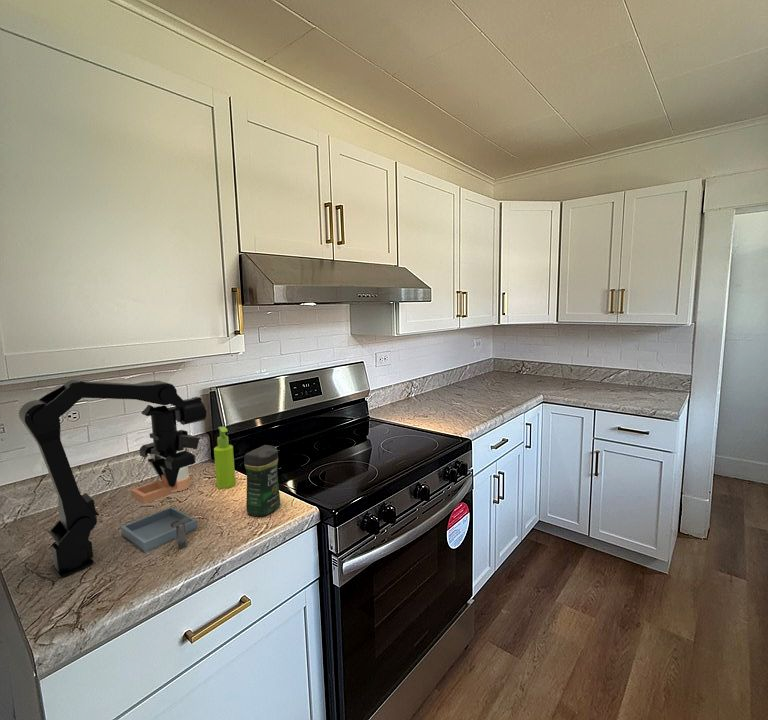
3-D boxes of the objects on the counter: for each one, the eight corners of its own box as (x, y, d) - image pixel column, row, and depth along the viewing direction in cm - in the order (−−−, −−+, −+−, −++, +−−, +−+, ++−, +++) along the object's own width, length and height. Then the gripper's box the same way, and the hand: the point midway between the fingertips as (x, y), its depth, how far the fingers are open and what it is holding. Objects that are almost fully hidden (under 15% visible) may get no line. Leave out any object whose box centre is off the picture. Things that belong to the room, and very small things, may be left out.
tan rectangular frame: (143, 504, 105) (142, 488, 104) (131, 496, 109) (129, 482, 108) (181, 490, 112) (180, 476, 111) (168, 484, 116) (167, 470, 116)
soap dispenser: (219, 491, 136) (214, 431, 133) (215, 484, 141) (210, 426, 139) (238, 487, 139) (234, 428, 136) (233, 480, 144) (229, 423, 142)
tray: (145, 552, 102) (144, 543, 102) (121, 535, 110) (120, 526, 110) (197, 528, 113) (196, 520, 113) (172, 514, 121) (171, 506, 121)
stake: (176, 551, 103) (173, 525, 102) (172, 548, 104) (169, 522, 103) (192, 544, 106) (189, 518, 105) (187, 541, 107) (185, 516, 106)
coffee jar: (264, 519, 117) (260, 455, 115) (242, 514, 120) (238, 452, 118) (285, 504, 126) (282, 444, 124) (264, 500, 129) (260, 441, 127)
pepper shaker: (181, 481, 144) (176, 427, 142) (195, 485, 141) (190, 429, 138) (161, 489, 138) (156, 433, 135) (175, 494, 134) (170, 436, 132)
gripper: (212, 427, 112) (216, 483, 114) (177, 416, 123) (181, 468, 125) (170, 438, 103) (175, 498, 105) (136, 426, 114) (141, 481, 116)
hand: (169, 485), depth 113 cm, fingers closed on tan rectangular frame, 3 cm apart
